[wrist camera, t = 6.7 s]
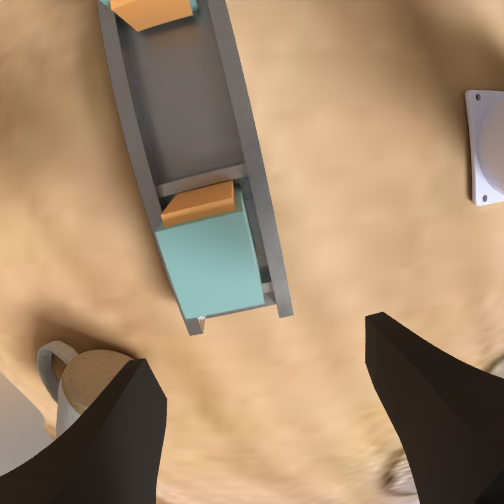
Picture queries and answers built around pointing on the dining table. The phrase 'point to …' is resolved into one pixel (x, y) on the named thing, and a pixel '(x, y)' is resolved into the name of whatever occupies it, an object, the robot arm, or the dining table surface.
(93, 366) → the ceramic mug
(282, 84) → the dining table surface
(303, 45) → the dining table surface
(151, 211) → the rail
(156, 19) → the teal orange box
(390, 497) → the dining table surface
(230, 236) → the teal and orange block
